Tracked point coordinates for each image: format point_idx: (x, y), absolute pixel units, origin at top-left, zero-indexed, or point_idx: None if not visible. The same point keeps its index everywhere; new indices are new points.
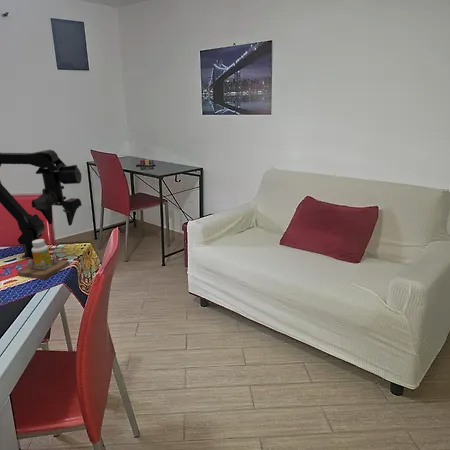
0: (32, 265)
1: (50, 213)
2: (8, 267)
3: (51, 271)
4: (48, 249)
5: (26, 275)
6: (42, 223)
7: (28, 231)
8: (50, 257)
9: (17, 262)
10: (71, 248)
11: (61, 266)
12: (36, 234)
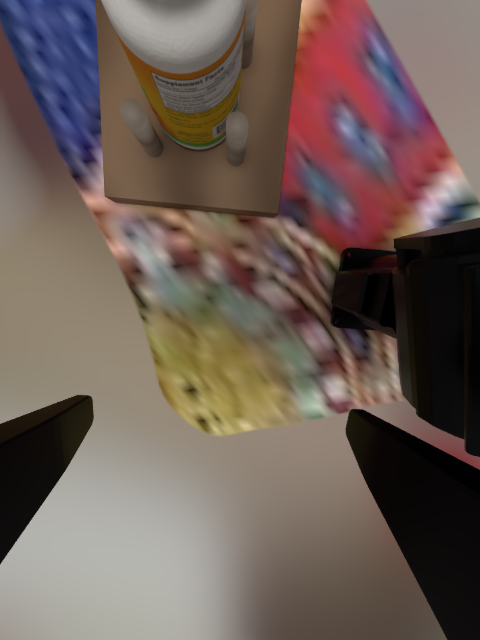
0: None
1: (448, 591)
2: (417, 131)
3: (98, 33)
4: (115, 31)
5: None
6: (457, 424)
7: None
8: (150, 103)
9: (406, 198)
10: (242, 383)
11: (104, 130)
12: (404, 270)
